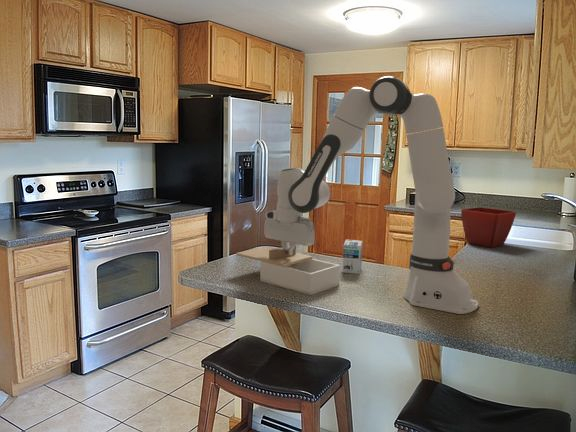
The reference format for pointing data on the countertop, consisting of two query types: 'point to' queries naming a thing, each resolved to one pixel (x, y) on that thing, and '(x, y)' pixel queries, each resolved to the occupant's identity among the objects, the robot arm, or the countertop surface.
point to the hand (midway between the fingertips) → (288, 254)
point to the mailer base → (302, 276)
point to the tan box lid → (274, 256)
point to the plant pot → (487, 225)
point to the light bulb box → (352, 256)
